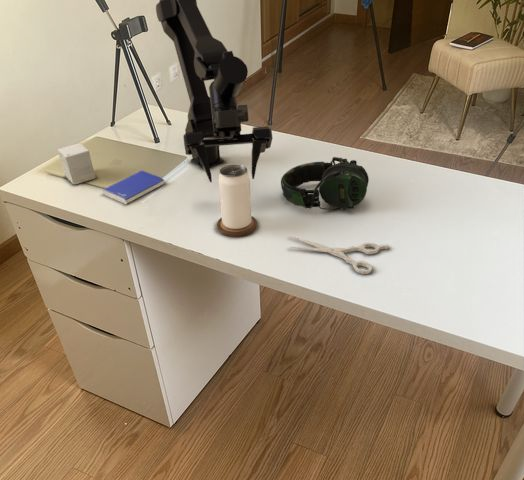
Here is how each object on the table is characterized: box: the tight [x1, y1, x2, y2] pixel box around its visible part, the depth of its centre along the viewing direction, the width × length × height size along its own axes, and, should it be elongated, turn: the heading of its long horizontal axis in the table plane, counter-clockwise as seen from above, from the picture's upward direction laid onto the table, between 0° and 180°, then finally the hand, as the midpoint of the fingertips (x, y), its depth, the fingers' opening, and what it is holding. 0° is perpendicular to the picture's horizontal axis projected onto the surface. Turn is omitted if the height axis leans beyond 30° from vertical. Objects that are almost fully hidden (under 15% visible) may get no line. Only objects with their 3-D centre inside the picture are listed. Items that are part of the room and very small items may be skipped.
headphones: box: [280, 156, 370, 211], centre depth 121 cm, size 13×13×20 cm
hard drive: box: [102, 170, 165, 205], centre depth 130 cm, size 2×8×12 cm
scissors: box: [291, 236, 390, 275], centre depth 108 cm, size 11×1×20 cm
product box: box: [57, 142, 97, 186], centre depth 133 cm, size 6×6×7 cm
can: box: [218, 163, 252, 229], centre depth 112 cm, size 6×6×12 cm
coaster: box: [216, 215, 258, 238], centre depth 117 cm, size 9×9×1 cm
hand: (232, 180), depth 115 cm, fingers open, 9 cm apart
